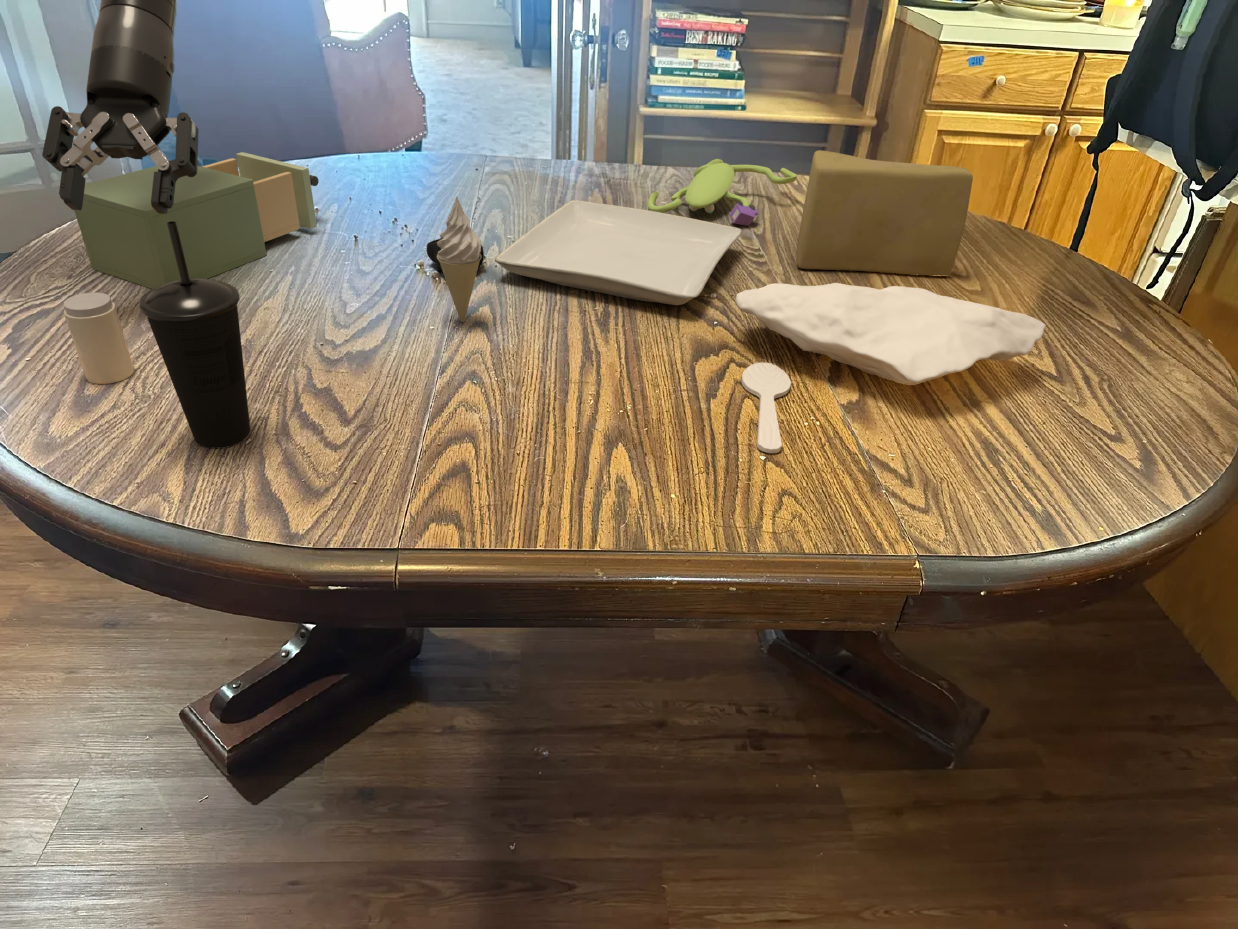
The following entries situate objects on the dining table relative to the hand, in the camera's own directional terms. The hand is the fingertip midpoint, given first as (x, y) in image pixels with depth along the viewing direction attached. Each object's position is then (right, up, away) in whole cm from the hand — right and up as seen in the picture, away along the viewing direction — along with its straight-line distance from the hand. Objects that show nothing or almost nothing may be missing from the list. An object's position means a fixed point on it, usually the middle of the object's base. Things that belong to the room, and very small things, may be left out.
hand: (115, 208), depth 87 cm
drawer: (0, +7, +33) cm, 34 cm away
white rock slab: (+82, -15, +12) cm, 84 cm away
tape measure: (+29, 0, +27) cm, 40 cm away
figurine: (+69, +18, +58) cm, 92 cm away
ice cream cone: (+33, -9, +15) cm, 37 cm away
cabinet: (-5, 0, +24) cm, 24 cm away
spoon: (+67, -20, +2) cm, 70 cm away
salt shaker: (0, -17, 0) cm, 17 cm away
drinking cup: (+15, -24, -8) cm, 29 cm away
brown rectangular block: (+88, +2, +37) cm, 96 cm away
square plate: (+52, +1, +32) cm, 61 cm away
